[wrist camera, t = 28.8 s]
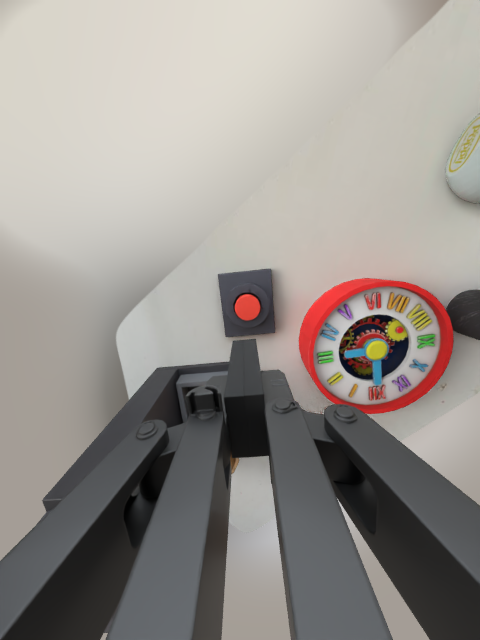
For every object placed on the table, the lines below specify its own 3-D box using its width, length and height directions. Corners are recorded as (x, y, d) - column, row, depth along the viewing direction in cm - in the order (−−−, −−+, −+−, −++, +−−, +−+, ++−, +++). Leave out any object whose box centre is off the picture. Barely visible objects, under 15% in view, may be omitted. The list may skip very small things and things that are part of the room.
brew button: (260, 316, 34) (261, 319, 32) (236, 318, 34) (236, 321, 32) (258, 292, 33) (259, 294, 31) (234, 295, 33) (233, 296, 31)
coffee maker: (254, 429, 42) (264, 637, 18) (170, 435, 43) (79, 641, 19) (247, 360, 39) (248, 505, 15) (156, 367, 40) (26, 517, 16)
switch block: (274, 329, 37) (276, 336, 34) (226, 334, 38) (224, 340, 34) (269, 268, 35) (272, 269, 32) (219, 274, 35) (216, 274, 32)
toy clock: (456, 267, 29) (451, 403, 33) (421, 267, 34) (421, 383, 39) (300, 295, 30) (315, 422, 35) (291, 290, 36) (306, 400, 40)
